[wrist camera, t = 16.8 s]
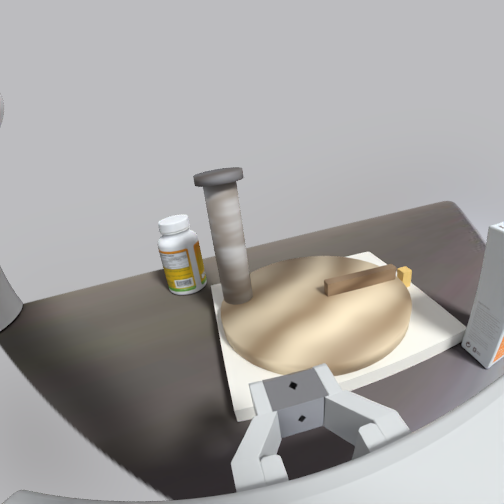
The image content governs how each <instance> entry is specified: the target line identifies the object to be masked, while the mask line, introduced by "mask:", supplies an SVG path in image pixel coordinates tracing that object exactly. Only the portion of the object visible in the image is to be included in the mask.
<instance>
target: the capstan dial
mask: <svg viewBox="0 0 504 504" xmlns="http://www.w3.org/2000/svg"><path fill="white" fill-rule="evenodd" d="M193 177H194V183H195V186H198V187H203V189H204V195H205V201H206V207H207V212H208V218H209V223H210V229H211V234H212V240H213V245H214V251H215V256H216V261H217V266H218V271H219V276H220V282H221V287H222V292H223V297H224V299H223V301H222V305H221V320H222V325H223V329H224V333H225V336H226V338H227V340H228V342H229V344H230V345H231V346H232V348H233V349H234V350H235V351H236V352H237V353H238V354H239V355H240V356H242V357H243V358H244V359H246V360H247V361H249V362H251V363H252V364H254V365H256V366H258V367H261V368H263V369H265V370H268V371H271V372H275V373H278V374H282V375H287V374H290V373H293V372H297V371H300V370H304V369H307V368H310V367H314V366H317V365H320V364H323V363H325V364H327V366H328V367H329V369H330V371H331V372H332V374H333V376H338V375H344V374H347V373H351V372H355V371H358V370H361V369H363V368H366V367H368V366H371V365H372V364H374V363H376V362H378V361H380V360H381V359H383V358H384V357H386V356H387V355H388V354H390V353H391V352H392V351H393V350H394V349H395V348H396V347H397V346H398V345H399V344H400V342H401V341H402V340H403V338H404V337H405V335H406V332H407V330H408V327H409V322H410V316H411V311H412V300H411V296H410V293H409V291H408V289H407V287H406V286H405V285H404V283H403V282H402V281H401V280H400V279H399V278H398V277H397V276H396V267H395V266H394V265H392V264H388V265H384V266H378V265H375V264H372V263H369V262H366V261H362V260H358V259H353V258H347V257H338V256H310V257H301V258H295V259H289V260H285V261H280V262H277V263H273V264H270V265H268V266H265V267H262V268H260V269H258V270H255V271H253V272H252V273H249V266H248V259H247V252H246V246H245V239H244V232H243V225H242V219H241V212H240V205H239V199H238V191H237V184H236V181H238V180H241V179H242V178H243V171H242V168H223V169H217V170H211V171H207V172H203V173H199V174H196V175H194V176H193Z"/></svg>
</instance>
